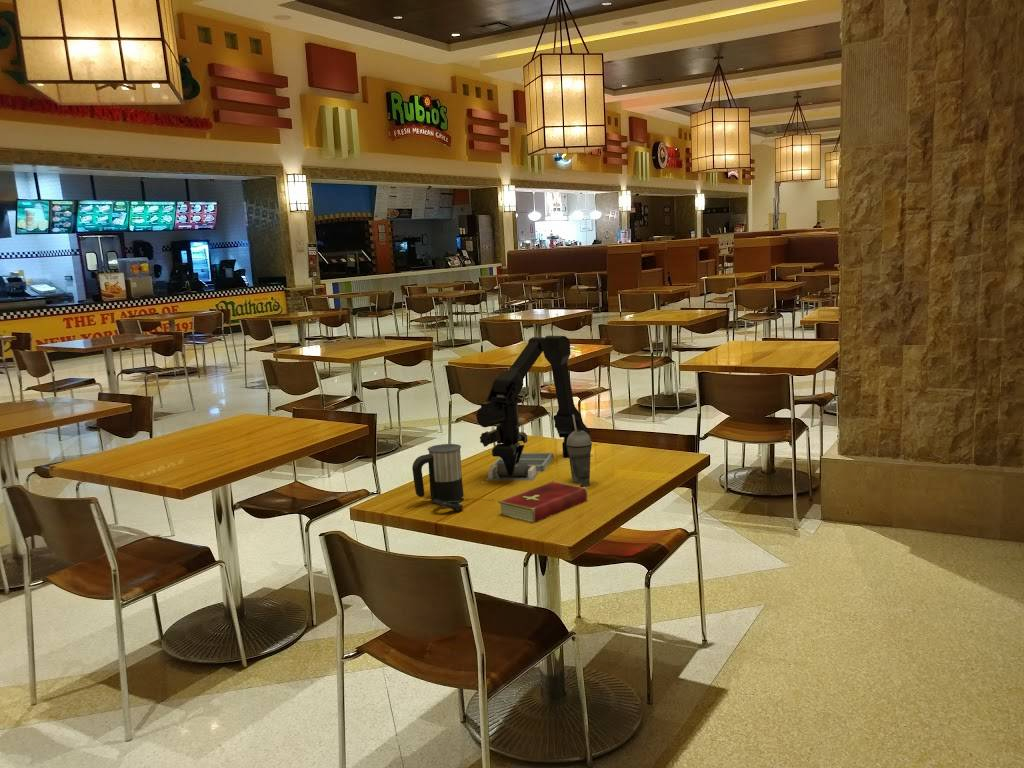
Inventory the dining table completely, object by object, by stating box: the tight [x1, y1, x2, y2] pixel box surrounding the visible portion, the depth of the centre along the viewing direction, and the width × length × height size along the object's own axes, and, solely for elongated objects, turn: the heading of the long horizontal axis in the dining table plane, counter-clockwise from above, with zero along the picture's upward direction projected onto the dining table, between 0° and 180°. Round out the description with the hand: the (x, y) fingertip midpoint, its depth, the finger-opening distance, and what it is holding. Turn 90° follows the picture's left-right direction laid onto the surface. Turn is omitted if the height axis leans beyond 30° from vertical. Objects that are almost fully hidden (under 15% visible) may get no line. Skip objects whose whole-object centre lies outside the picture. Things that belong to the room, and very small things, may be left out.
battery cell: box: [496, 463, 529, 477], centre depth 242 cm, size 9×4×4 cm, turn 76°
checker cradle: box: [485, 466, 539, 481], centre depth 242 cm, size 14×8×3 cm, turn 76°
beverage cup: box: [566, 415, 593, 487], centre depth 231 cm, size 7×7×20 cm
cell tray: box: [490, 452, 554, 472], centre depth 255 cm, size 16×15×2 cm
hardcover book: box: [497, 481, 588, 524], centre depth 214 cm, size 12×21×4 cm, turn 137°
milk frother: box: [411, 443, 465, 512], centre depth 221 cm, size 14×16×15 cm
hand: (512, 472), depth 242 cm, fingers closed on battery cell, 4 cm apart
